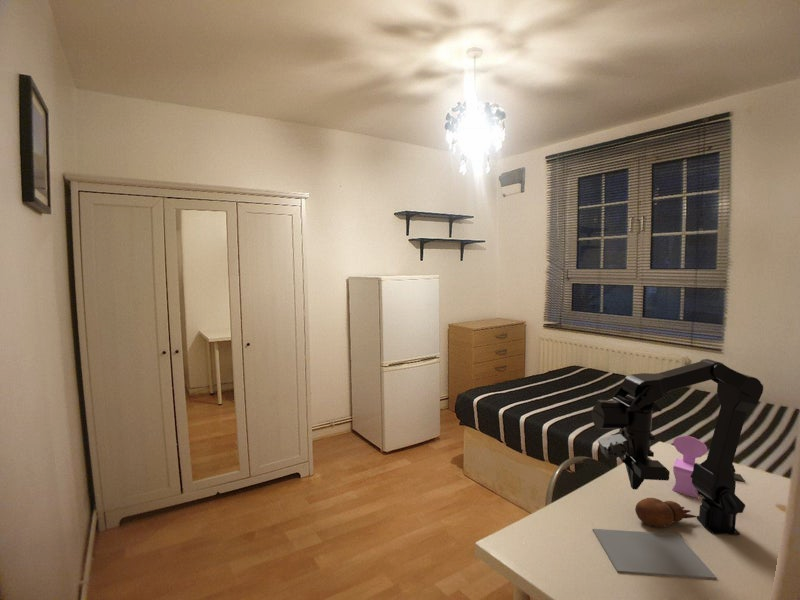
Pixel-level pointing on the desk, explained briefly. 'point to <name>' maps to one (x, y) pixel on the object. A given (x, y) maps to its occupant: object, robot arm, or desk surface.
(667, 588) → the desk surface
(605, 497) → the desk surface
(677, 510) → the wooden figurine
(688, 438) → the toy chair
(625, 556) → the mat
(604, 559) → the desk surface
